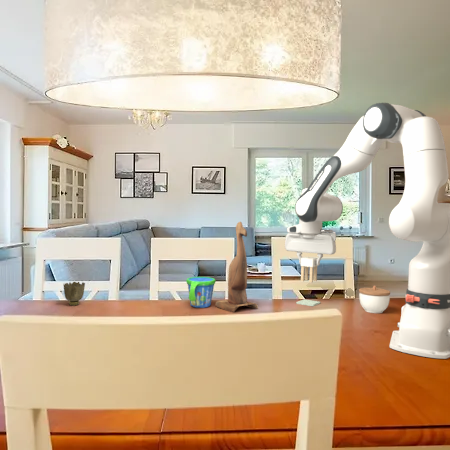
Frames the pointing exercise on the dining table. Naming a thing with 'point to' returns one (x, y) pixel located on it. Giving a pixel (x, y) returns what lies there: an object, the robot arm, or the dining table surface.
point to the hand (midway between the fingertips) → (309, 264)
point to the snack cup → (200, 291)
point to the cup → (74, 292)
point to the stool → (305, 264)
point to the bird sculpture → (237, 276)
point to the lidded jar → (374, 299)
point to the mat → (308, 302)
